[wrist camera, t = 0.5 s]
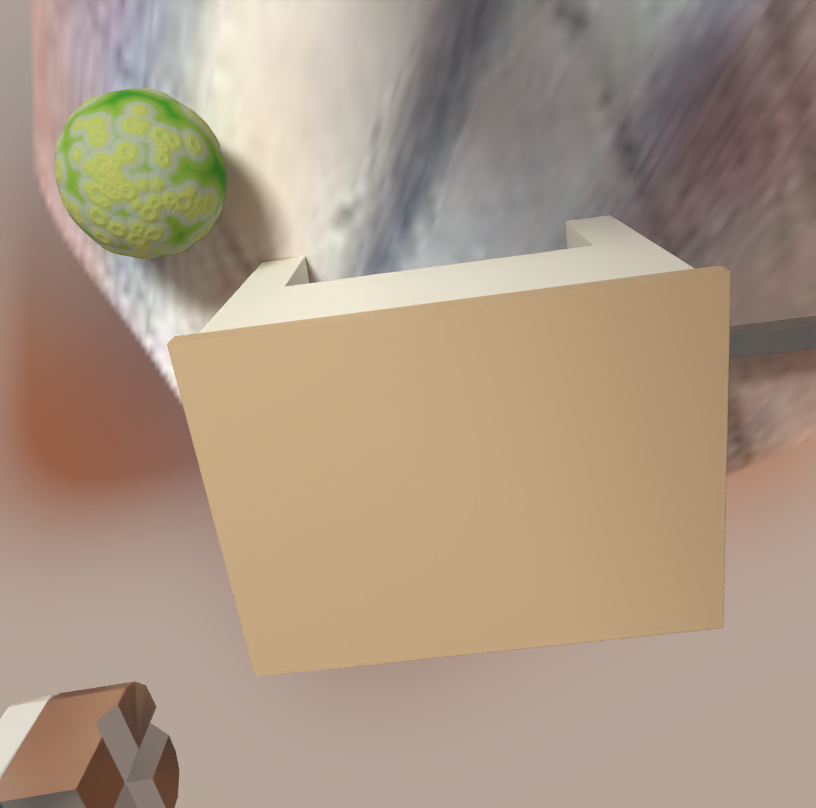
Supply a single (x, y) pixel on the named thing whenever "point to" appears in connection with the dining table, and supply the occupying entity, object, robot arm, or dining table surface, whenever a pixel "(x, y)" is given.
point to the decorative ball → (140, 173)
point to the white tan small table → (467, 452)
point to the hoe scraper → (772, 337)
